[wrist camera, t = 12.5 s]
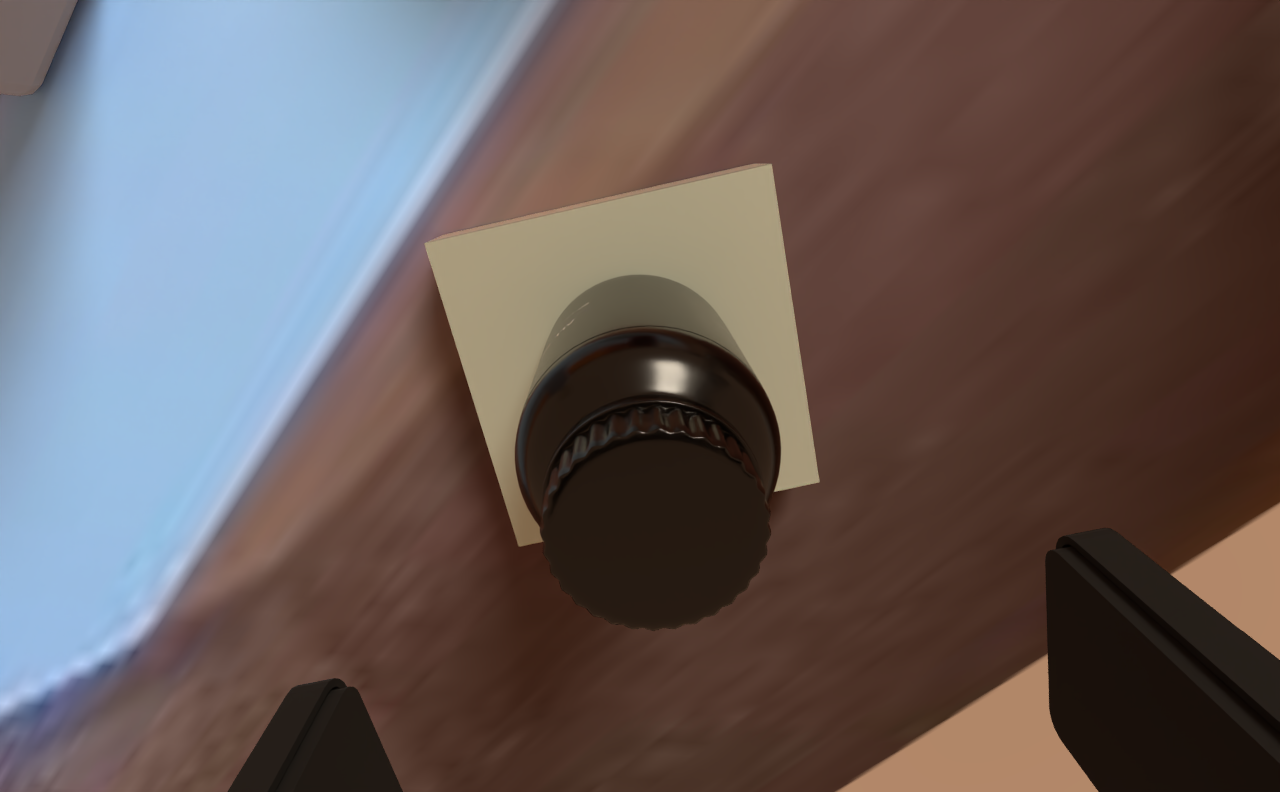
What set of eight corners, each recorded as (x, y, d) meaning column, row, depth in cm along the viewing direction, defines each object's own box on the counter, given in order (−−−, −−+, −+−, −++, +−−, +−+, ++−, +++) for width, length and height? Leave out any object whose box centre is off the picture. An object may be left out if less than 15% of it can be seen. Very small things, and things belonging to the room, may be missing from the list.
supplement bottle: (527, 286, 25) (456, 395, 13) (722, 258, 25) (818, 346, 13) (560, 464, 27) (523, 690, 16) (739, 440, 27) (833, 649, 15)
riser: (754, 163, 27) (771, 164, 24) (799, 452, 30) (819, 482, 28) (443, 234, 27) (424, 243, 24) (526, 510, 31) (518, 546, 28)
